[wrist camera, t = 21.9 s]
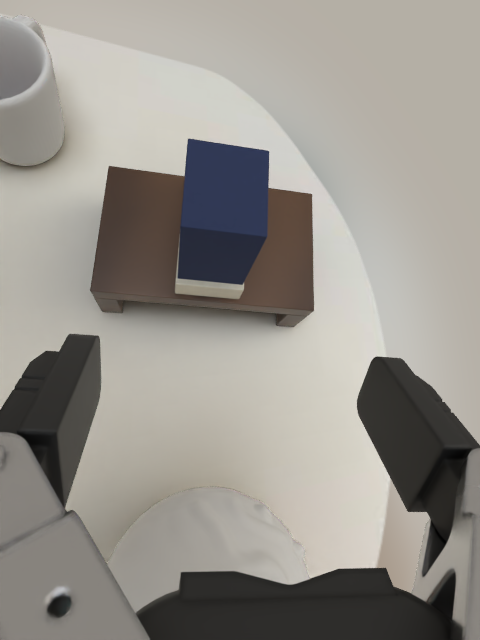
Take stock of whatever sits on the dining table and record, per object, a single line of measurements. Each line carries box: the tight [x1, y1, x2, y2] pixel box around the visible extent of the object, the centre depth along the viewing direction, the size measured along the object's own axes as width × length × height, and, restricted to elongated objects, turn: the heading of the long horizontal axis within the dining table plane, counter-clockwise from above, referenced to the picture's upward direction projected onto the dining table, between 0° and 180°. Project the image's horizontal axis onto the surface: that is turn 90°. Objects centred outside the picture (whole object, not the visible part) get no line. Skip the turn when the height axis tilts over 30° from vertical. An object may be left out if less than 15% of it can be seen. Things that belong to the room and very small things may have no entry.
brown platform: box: [90, 166, 314, 327], centre depth 32 cm, size 16×10×5 cm, turn 88°
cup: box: [0, 15, 65, 166], centre depth 31 cm, size 11×8×8 cm
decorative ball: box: [107, 487, 310, 613], centre depth 22 cm, size 12×12×12 cm
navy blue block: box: [175, 139, 269, 299], centre depth 25 cm, size 9×5×9 cm, turn 178°
